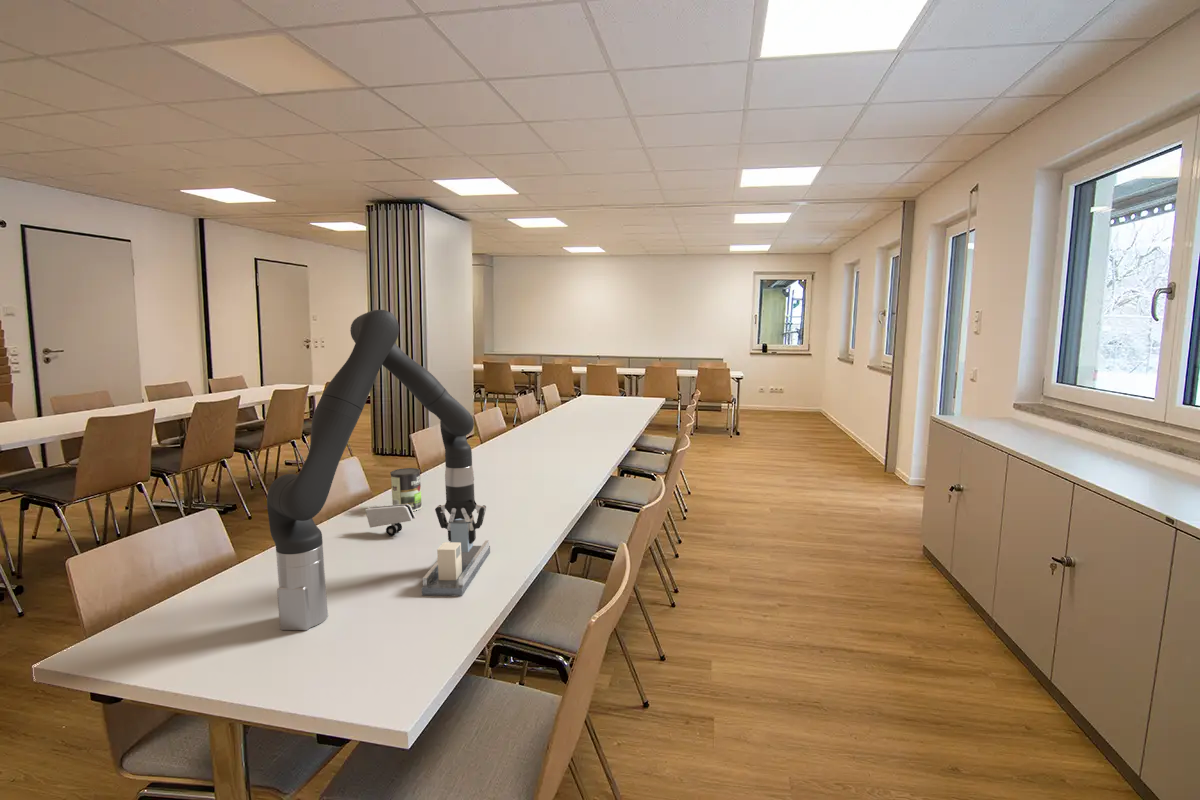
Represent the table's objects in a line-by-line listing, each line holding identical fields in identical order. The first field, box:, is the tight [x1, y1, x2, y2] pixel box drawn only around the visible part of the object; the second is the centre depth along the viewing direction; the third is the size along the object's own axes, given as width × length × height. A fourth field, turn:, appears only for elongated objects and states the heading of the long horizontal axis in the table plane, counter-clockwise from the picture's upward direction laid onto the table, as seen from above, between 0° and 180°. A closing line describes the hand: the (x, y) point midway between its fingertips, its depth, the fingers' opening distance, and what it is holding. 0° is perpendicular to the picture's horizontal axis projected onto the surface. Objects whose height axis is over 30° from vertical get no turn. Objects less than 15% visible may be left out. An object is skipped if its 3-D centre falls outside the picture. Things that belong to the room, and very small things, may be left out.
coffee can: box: [390, 467, 423, 512], centre depth 211 cm, size 10×10×14 cm
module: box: [450, 519, 474, 552], centre depth 159 cm, size 5×5×8 cm
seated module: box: [436, 541, 462, 580], centre depth 148 cm, size 5×5×8 cm
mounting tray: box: [421, 539, 491, 597], centre depth 155 cm, size 28×10×4 cm, turn 177°
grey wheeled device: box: [364, 504, 417, 537], centre depth 185 cm, size 4×10×15 cm
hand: (462, 542), depth 159 cm, fingers closed on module, 4 cm apart
